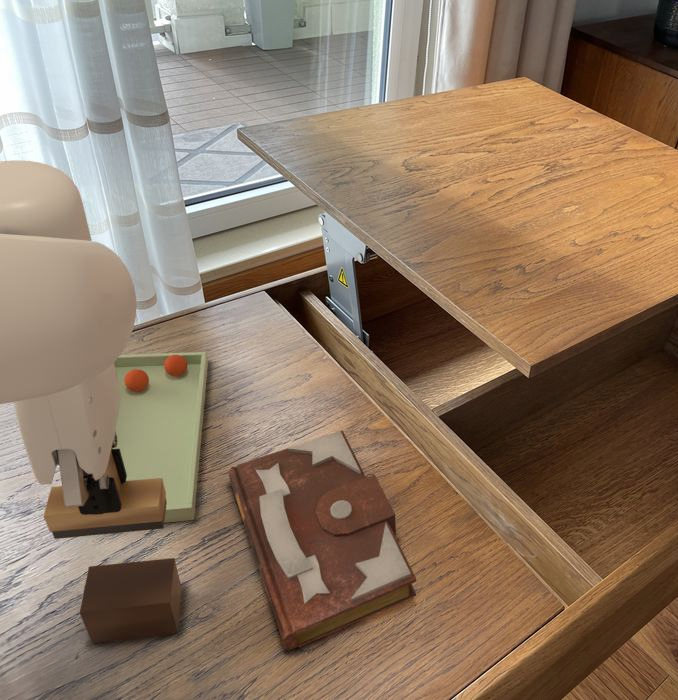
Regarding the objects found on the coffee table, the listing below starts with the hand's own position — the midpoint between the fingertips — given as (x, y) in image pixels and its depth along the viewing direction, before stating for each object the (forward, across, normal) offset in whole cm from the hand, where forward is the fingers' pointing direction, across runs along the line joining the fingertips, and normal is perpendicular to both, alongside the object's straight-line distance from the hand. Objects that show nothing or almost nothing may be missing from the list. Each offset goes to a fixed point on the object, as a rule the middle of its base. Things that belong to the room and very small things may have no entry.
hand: (104, 494), depth 63 cm
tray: (+18, -24, -2) cm, 30 cm away
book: (+18, -6, +19) cm, 27 cm away
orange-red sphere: (+16, -35, +1) cm, 39 cm away
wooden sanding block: (+4, 0, 0) cm, 4 cm away
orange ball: (+16, -32, -4) cm, 36 cm away
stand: (+18, +1, 0) cm, 18 cm away
